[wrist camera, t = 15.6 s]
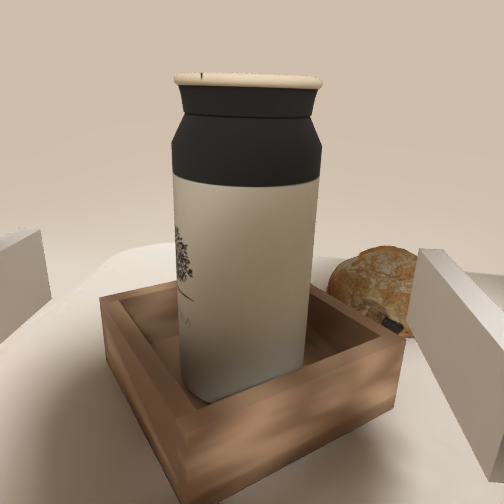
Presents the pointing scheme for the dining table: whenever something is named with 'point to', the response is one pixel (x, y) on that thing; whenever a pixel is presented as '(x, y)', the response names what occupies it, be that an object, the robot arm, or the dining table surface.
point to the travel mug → (243, 227)
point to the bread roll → (377, 286)
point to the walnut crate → (246, 392)
